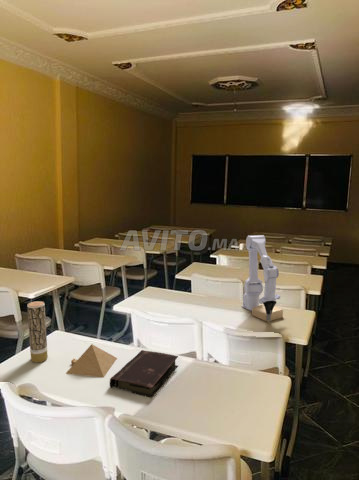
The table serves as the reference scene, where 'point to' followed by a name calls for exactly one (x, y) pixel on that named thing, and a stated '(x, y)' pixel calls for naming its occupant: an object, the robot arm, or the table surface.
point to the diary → (145, 373)
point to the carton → (275, 313)
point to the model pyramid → (92, 363)
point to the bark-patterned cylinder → (37, 331)
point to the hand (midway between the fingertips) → (268, 313)
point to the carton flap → (261, 315)
